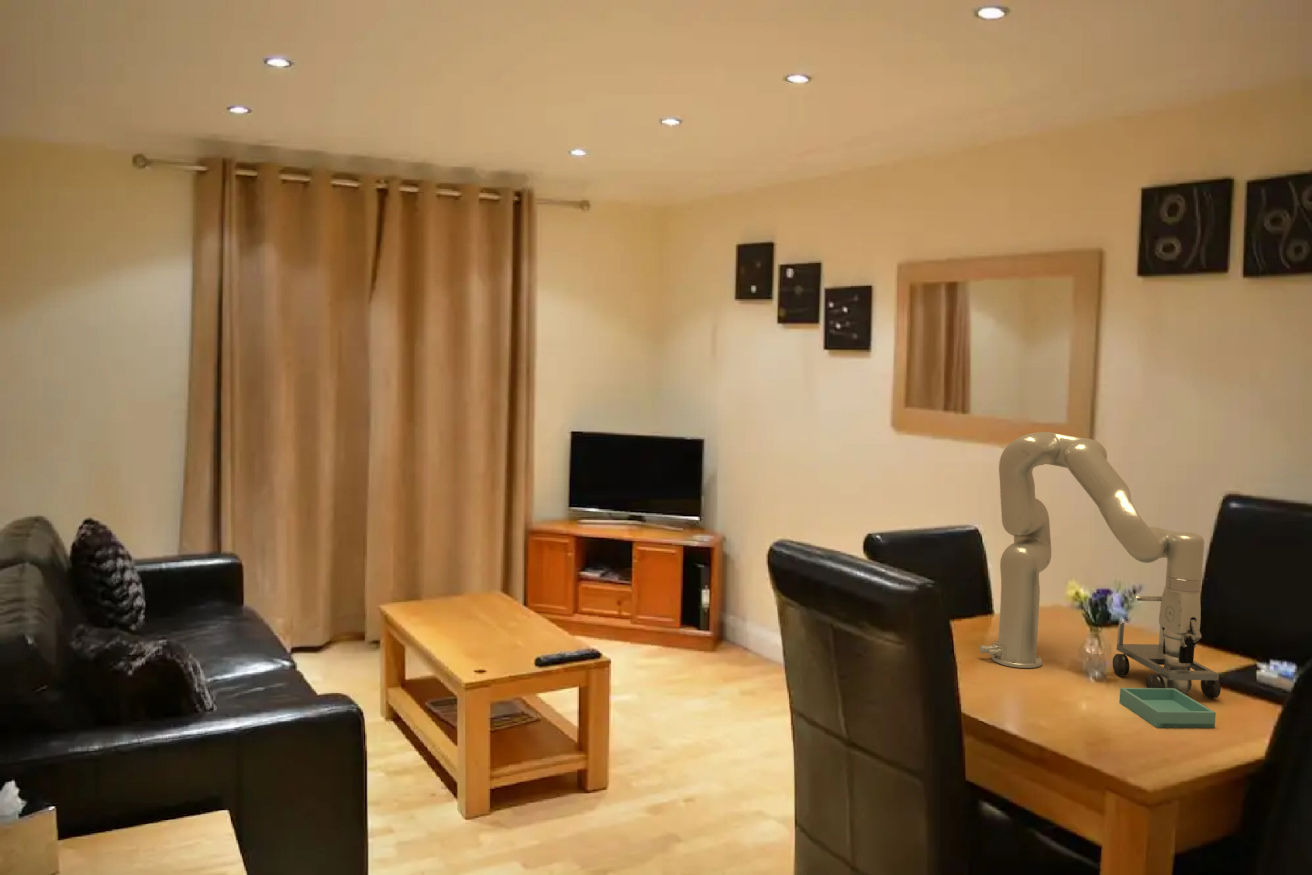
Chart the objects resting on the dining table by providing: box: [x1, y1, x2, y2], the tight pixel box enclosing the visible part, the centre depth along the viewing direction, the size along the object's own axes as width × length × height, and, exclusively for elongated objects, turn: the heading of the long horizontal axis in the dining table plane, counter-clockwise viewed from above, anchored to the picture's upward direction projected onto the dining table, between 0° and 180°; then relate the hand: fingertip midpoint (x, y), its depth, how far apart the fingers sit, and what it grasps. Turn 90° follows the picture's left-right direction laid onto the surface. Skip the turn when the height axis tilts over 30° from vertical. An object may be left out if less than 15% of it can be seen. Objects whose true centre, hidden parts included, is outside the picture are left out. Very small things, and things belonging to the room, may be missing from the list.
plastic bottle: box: [1162, 627, 1193, 695], centre depth 246 cm, size 6×7×20 cm
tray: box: [1118, 687, 1217, 729], centre depth 231 cm, size 13×16×4 cm
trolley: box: [1112, 595, 1222, 699], centre depth 251 cm, size 15×24×20 cm, turn 4°
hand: (1177, 657), depth 246 cm, fingers closed on plastic bottle, 6 cm apart
